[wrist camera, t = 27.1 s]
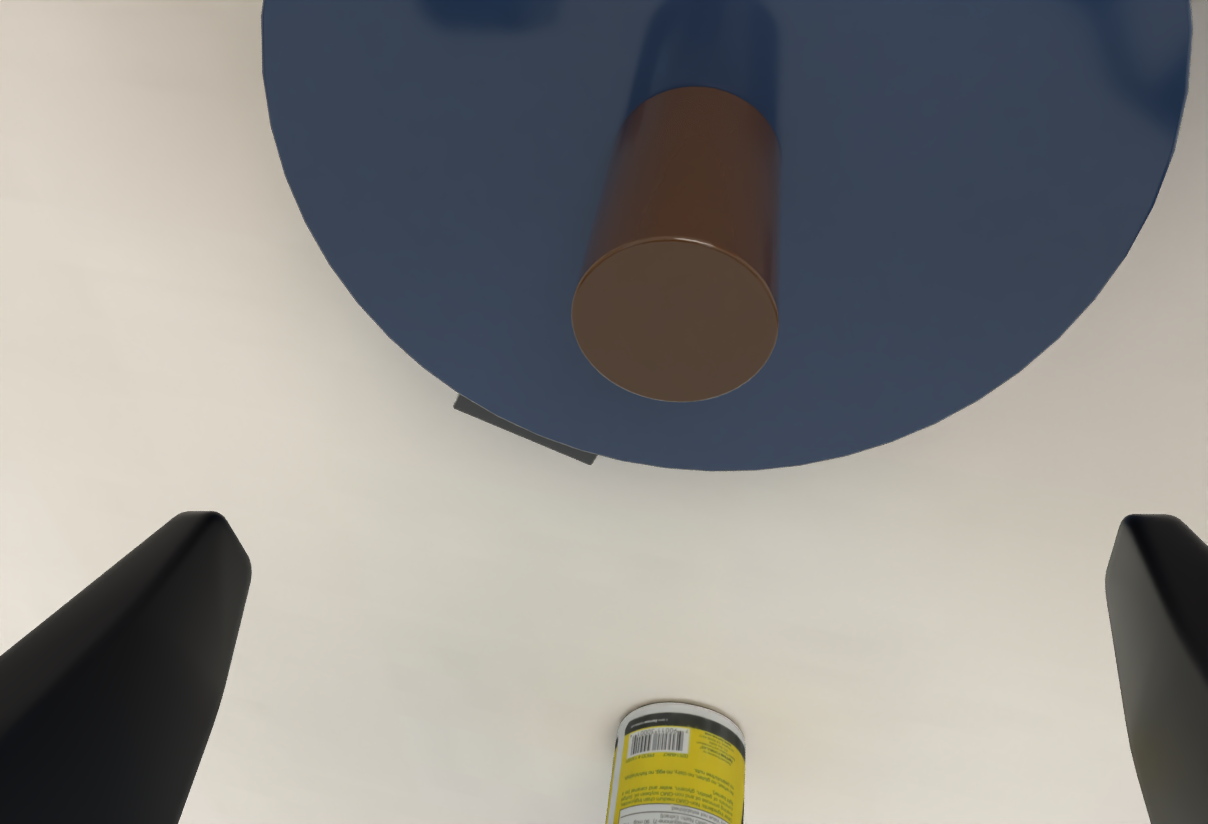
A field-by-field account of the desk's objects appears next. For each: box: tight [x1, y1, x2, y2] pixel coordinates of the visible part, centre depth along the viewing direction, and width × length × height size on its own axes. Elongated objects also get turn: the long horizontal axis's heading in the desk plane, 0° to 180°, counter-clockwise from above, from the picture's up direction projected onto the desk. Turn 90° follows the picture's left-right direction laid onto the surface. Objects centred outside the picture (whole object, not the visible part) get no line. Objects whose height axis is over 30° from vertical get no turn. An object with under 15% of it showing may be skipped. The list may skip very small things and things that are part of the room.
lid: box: [261, 0, 1193, 471], centre depth 14 cm, size 14×14×5 cm
